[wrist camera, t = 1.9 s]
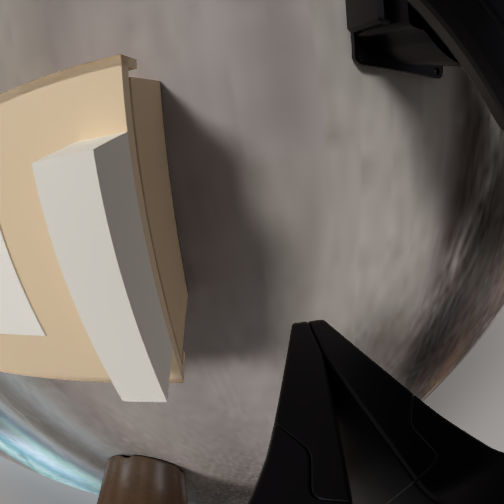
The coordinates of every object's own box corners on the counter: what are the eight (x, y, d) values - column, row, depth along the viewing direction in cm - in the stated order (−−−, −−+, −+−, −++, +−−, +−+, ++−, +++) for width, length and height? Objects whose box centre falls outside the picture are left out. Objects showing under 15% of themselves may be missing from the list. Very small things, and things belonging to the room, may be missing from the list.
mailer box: (160, 81, 15) (131, 76, 9) (188, 294, 22) (181, 358, 16) (-39, 141, 14) (-93, 166, 8) (12, 302, 20) (-19, 350, 15)
